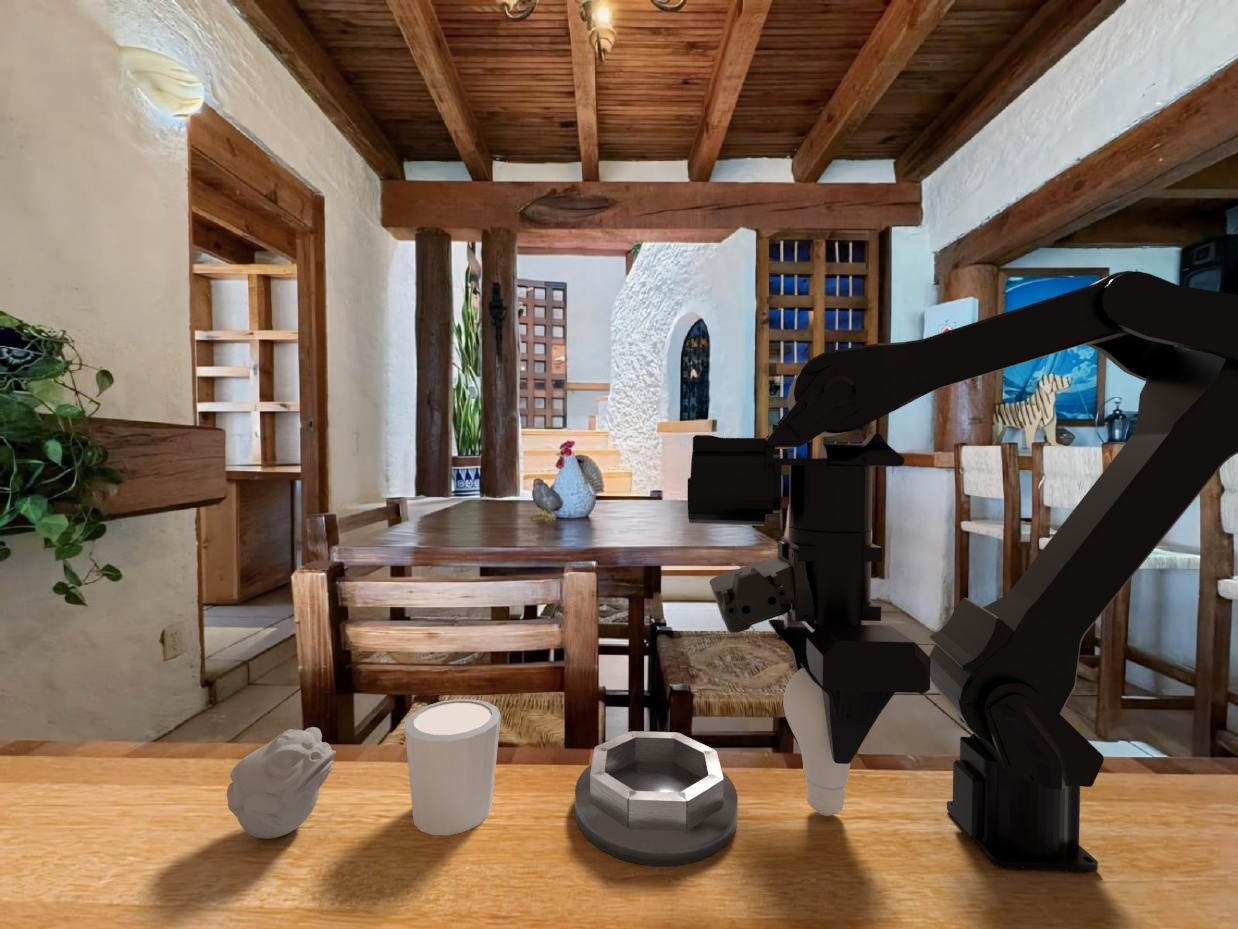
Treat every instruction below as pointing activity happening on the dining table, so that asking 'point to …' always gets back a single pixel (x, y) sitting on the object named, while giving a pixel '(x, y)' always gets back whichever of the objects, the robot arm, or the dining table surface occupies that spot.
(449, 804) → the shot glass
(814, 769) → the lightbulb
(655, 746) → the socket base
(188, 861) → the dining table surface
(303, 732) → the frog figurine
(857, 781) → the dining table surface
